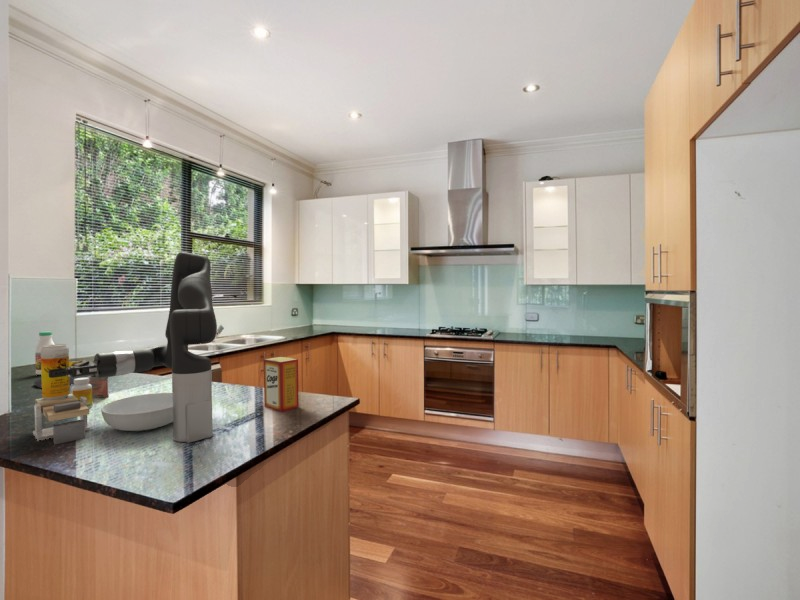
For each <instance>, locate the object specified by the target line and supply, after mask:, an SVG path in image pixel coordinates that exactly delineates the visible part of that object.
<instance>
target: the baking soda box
mask: <svg viewBox="0 0 800 600" xmlns="http://www.w3.org/2000/svg"><path fill="white" fill-rule="evenodd" d="M263 386H264V387H263V389H264V390H263V391H264V392H263V394H264V395H263V396H264V399H263V401H264V404H263V405H264V408H267V409H271V410H274V411H277V412H279V413H282V412H286V411H290V410H294V409H298V408H299V405H300V404H299V403H300V402H299V400H300V398H299V359H296V358H292V357H284V356H278V357H277V356H276V357H269V358H265V359H263Z"/></svg>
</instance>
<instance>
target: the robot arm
mask: <svg viewBox="0 0 800 600" xmlns="http://www.w3.org/2000/svg"><path fill="white" fill-rule="evenodd" d="M173 262H174V263H173V269H172V277H171V286H170V287H171V289H170V299H169V311H168V317H167V322H166V326H165V338H166V340H167V344H166V345H161V346H155V347H152V348H149V349H139V350H138V349H137V350H121V351H120V350H119V351H118V350H117V351H109V352H100V353H96V354H94V357H93V359H94V360H93V361H90V360H88V359H82V360H78V361H77V360H75V361H74V360H73V361H72V360H71V361H69V367H67V369H66V368H60V369H51V370H49V377H50V378H54V377H62V376H66V375H67V376H69V377H76V376H83V375H90V374H95V375H96V377H97V378H105V377H108V378H112V377H118V376H125V375H129V374H133V373H135V374H136V373H141V372H148V371H151V370H152V369H153V368H155V367H157V368H158V367H163V366H165V367H166V368H167V369H170V370H171V382H172V383H171V386H172V387H171V390H172V391H171V393H172V404H173V422H172V436H173V437H172V438H173V440H174V442H180V443H187V444H190V443H193V442H196V441H200V440H204V439H208V438H211V437H213V436H214V435H213V434H214V433H213V427H214V426H213V387H212V386H213V385H212V384H213V382H212V381H213V380H212V379H213V377H212V376H213V375H212V360H211V358H209V357H207V356H203V355H199V354H196V353H193V352H192V351H189V346H190V345H204V344H205V345H206V344H209V343H212V342H213V341H214V340H215V338H216V337H217V332H218V331H217V330H218V329H217V328H218V324H217V323H218V322H217V318H216V314H215V310H214V306H213V289H212V285H211V284H212V283H211V268H212V267H211V261H210V259H209V258H208V257H207V256H205V255H202V254H201V255H200V254H197V253H192V252H191V253H190V252H186V251H179V252H178V253H176V256H175V260H174V261H173Z"/></svg>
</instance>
